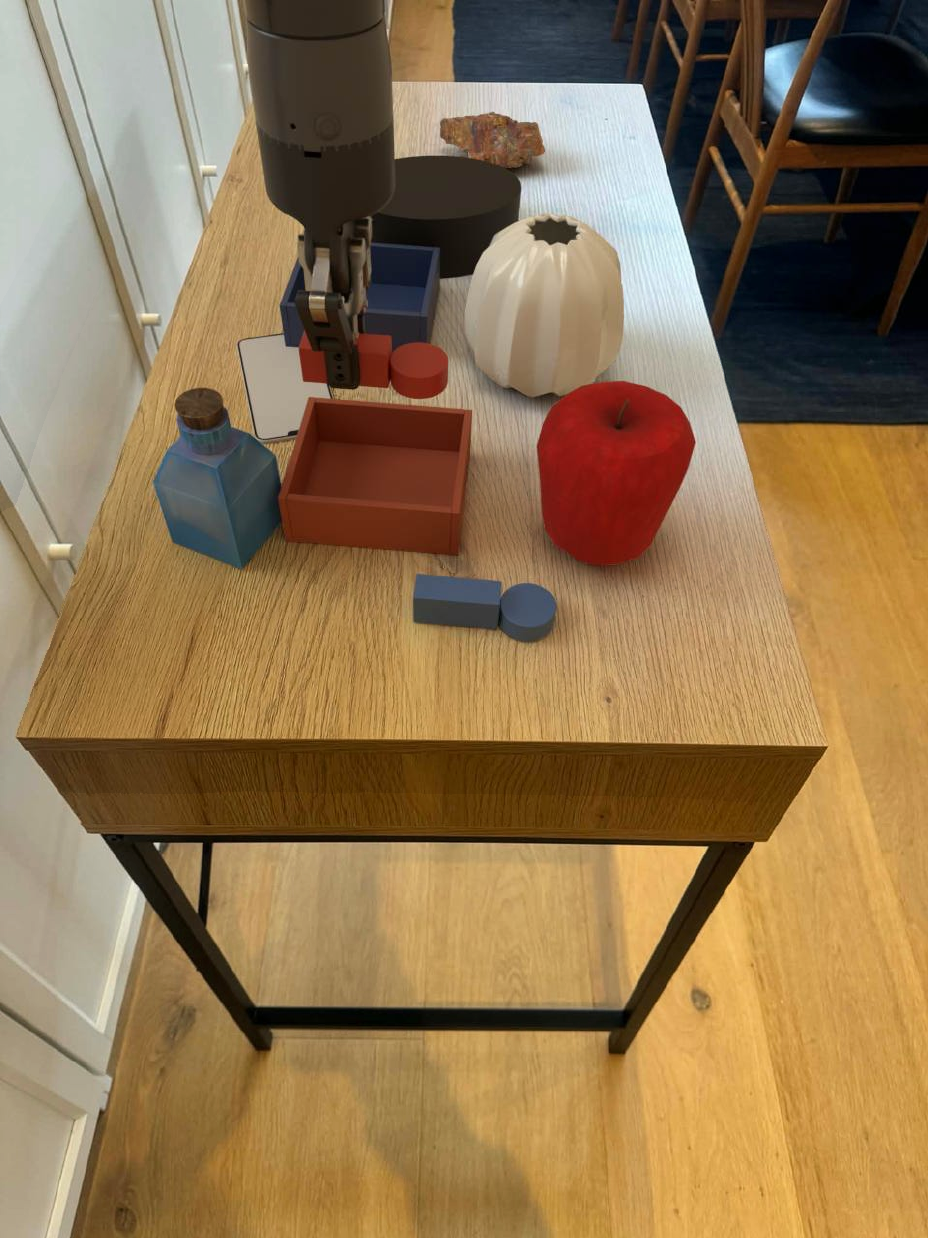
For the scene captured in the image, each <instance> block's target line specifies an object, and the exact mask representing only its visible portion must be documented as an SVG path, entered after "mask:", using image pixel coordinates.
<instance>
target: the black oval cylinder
mask: <svg viewBox="0 0 928 1238" xmlns="http://www.w3.org/2000/svg"><path fill="white" fill-rule="evenodd" d="M395 183H396V184H395V192H394V195H393V197H392V199H391V200H390V202H389V203H388V204H387V205H386V206H385V207H384V208H383V209H381V210H380V211H378V212H377V213H375V214H373V215H371V219H372V231H373V233H372V238H371V243H384V244H397V245H411V246H424V247H438V248H440V279H449V278H458V277H464V276H470V275H473V273H474V270H475V267H476V265H477V263H478V261H479V259H480V257H481V255H482V253H483V252H484V251H485V250H486V249H487V248H488V247H489V245H490V243H491V241H492V239H493V237H494V235H495V234H496V233H498V232H500V231H501V230H503V229H505V228H506V227H508V226H510V225H512V224H513V223H515V222H518V221H519V217H520V207H521V198H522V197H521V196H522V183H521V180H520V179H519V178H518V175H516V174H514V173H513V172H512V171H511V170H509V169H508V168H503V167H501V166H499V165H496V164H493V163H490V162H487V161H482V160H478V159H473V158H468V157H465V156H459V155H458V156H457V155H454V156H453V155H444V154H443V155H442V154H441V155H417V156H407V157H399V158H395Z"/></svg>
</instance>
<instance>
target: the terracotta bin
mask: <svg viewBox="0 0 928 1238" xmlns="http://www.w3.org/2000/svg"><path fill="white" fill-rule="evenodd" d="M472 424H473V409H465V408H455V407H454V408H452V407H441V406H428V405H427V406H426V405H413V404H403V403H390V402H379V401H378V402H377V401H364V400H355V399H353V400H352V399H342V398H341V399H340V398H334V399H329V398H315V397H309V398H308V401H307V404H306V408H305V411H304V414H303V418H302V421H301V424H300V427H299V431H298V434H297V437H296V440H295V441H294V445H293V448H292V451H291V454H290V458H289V460H288V464H287V467H286V470H285V474H284V476H283V480H282V482H281V490H280V493H279V496H278V502H279V507H280V512H281V518H282V522H281V524H282V529H283V533H284V539H285V542H296V543H308V544H319V545H321V544H322V545H329V546H330V545H331V546H332V545H333V546H342V547H343V546H344V547H355V548H368V549H379V550H392V551H403V552H414V553H425V554H438V555H450V556H458V555H459V551H460V543H461V534H462V526H463V516H464V509H465V502H466V501H465V500H466V492H467V483H468V475H469V465H470V458H471V457H470V456H471V444H472Z"/></svg>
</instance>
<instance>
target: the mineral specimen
mask: <svg viewBox="0 0 928 1238" xmlns="http://www.w3.org/2000/svg"><path fill="white" fill-rule="evenodd" d="M439 126H440V128H439V137H440V139H442V140H443V141H444V142H445V144H446V145H453V146H454V147H458V148H460V149H461V150H462V152H467V158H473V159H478V160H482V161H487V162H490V163H493V164H496V165H499V166H501V167H503V168H505V169H512V168H521V167H522V166H524V165H529V164H530V163H531V162H532V160H533V157H539V156H542V155H544V154H545V153H546V149H545V148H546V147H545V146H544V140H543V138H542V137H543V136H542V135H541V131H540V128H539V127H540V126H539V124H538V122H536V121H533V122H532V121H518V120H517V119H512V117H510V115H509V116H507V115H502V114H501V113H496V112H495V111H489V112H487V113H481V114H478V115H464V116H456V117H450V118H447V117H443V118H442V119H440V121H439Z"/></svg>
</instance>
